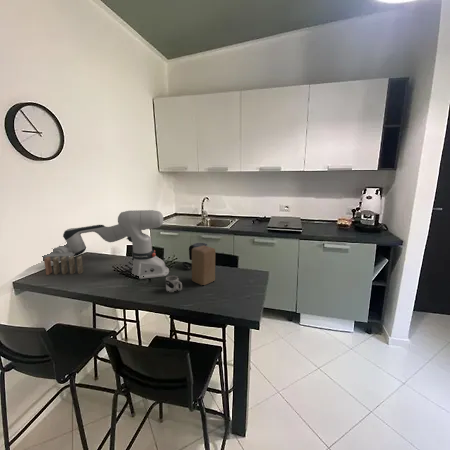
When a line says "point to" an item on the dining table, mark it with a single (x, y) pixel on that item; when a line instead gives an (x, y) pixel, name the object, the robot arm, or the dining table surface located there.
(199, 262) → the wooden block
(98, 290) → the dining table surface
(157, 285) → the dining table surface
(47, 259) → the domino
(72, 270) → the domino
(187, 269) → the milk frother
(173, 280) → the mug
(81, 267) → the domino
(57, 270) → the domino
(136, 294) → the dining table surface
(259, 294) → the dining table surface
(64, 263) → the domino
